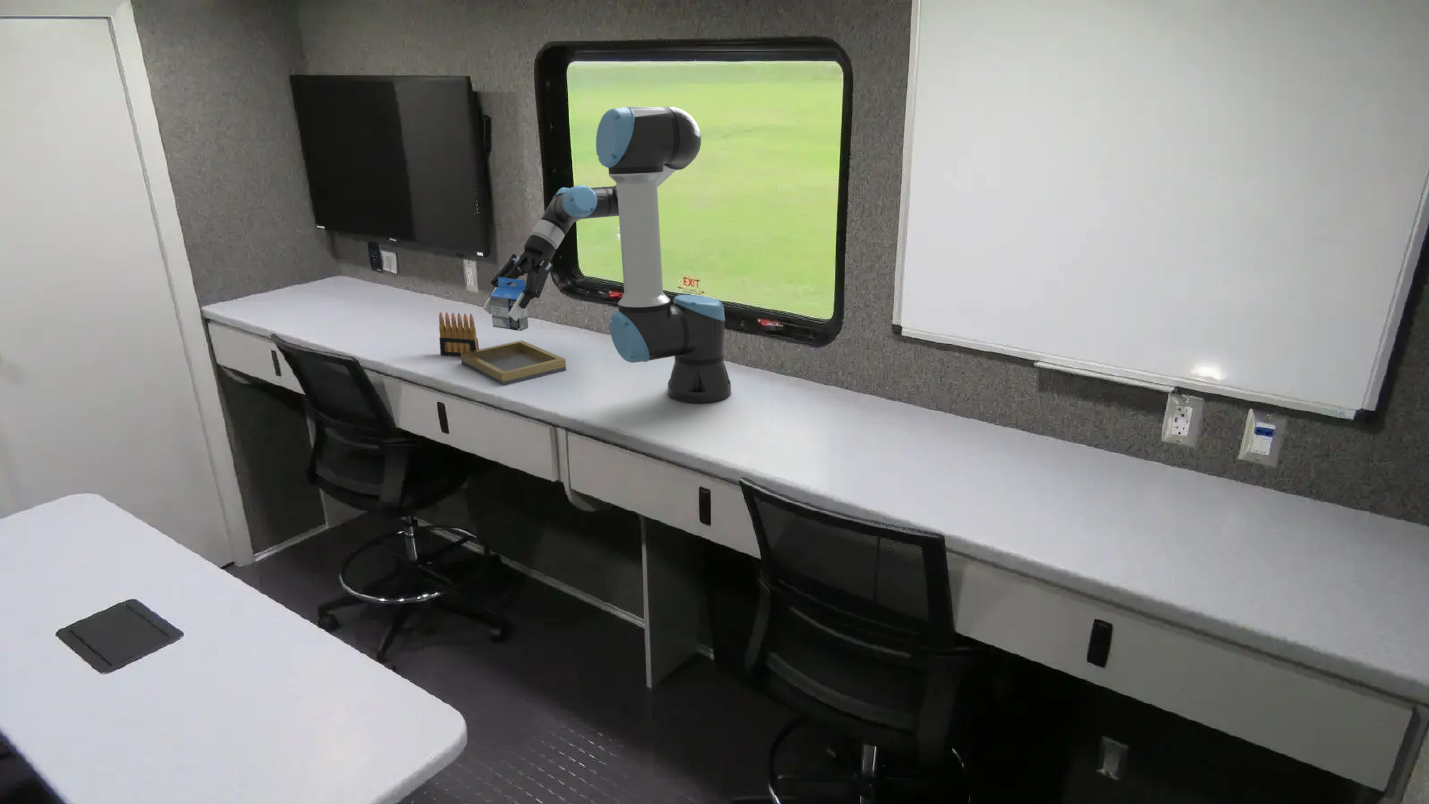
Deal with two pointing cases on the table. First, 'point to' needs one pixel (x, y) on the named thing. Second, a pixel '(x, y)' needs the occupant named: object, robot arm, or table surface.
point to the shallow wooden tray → (513, 362)
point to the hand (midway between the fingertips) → (499, 314)
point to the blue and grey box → (507, 304)
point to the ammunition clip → (457, 335)
